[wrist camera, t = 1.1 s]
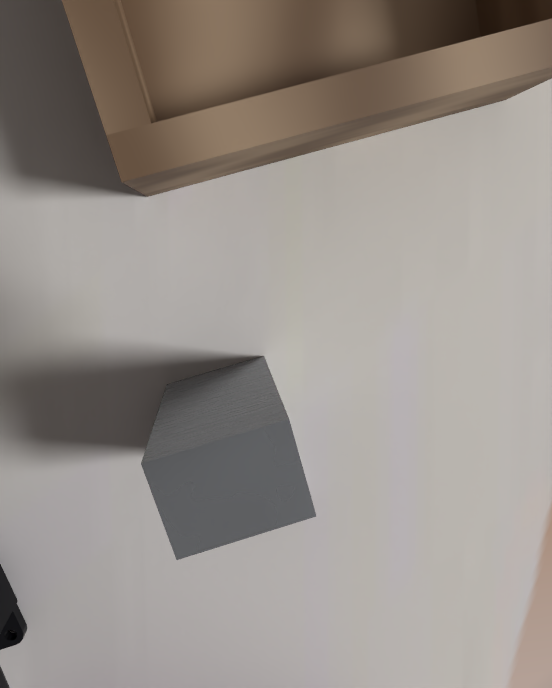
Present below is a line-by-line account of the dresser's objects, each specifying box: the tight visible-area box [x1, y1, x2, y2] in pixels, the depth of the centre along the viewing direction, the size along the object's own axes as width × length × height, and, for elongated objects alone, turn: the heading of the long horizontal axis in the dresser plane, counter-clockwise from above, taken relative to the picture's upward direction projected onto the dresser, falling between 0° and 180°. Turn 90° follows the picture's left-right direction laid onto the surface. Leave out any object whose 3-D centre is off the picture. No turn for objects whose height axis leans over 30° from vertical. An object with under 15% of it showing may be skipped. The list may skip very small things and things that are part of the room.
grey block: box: [141, 356, 316, 560], centre depth 17 cm, size 4×6×7 cm, turn 15°
